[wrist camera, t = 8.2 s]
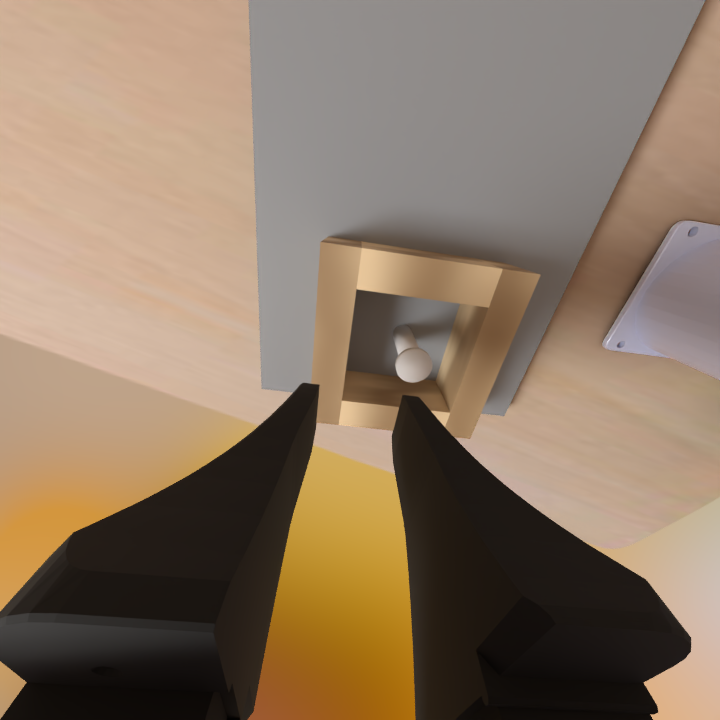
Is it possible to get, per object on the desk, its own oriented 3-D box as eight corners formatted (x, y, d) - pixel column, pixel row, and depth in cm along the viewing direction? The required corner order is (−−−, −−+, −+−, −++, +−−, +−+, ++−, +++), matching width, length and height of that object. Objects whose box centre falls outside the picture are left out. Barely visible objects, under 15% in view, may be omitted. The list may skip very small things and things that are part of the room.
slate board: (688, -11, 12) (934, -179, 7) (497, 406, 22) (537, 462, 17) (255, -109, 10) (161, -403, 5) (266, 379, 21) (237, 431, 16)
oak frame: (504, 262, 16) (540, 274, 12) (453, 404, 20) (470, 438, 17) (328, 236, 15) (320, 241, 12) (316, 388, 20) (308, 421, 16)
